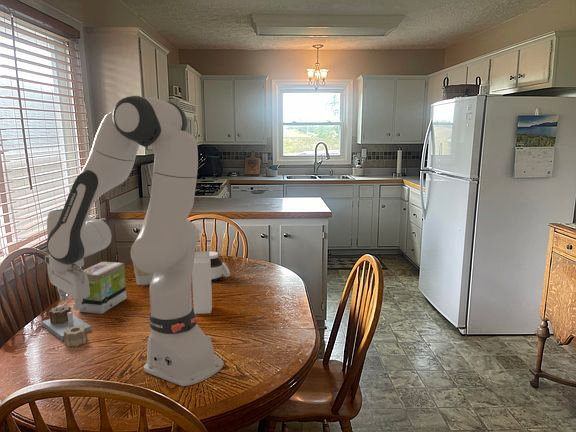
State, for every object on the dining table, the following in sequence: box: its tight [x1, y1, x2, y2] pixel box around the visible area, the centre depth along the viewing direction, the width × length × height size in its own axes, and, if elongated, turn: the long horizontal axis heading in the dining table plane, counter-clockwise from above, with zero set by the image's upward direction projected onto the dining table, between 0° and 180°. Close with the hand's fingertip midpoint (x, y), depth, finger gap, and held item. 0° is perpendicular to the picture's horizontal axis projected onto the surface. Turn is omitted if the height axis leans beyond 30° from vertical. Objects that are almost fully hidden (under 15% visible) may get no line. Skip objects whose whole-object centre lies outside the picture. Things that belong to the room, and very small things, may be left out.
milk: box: [191, 250, 213, 315], centre depth 149 cm, size 6×6×22 cm
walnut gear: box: [48, 304, 72, 324], centre depth 139 cm, size 6×6×4 cm
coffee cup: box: [132, 262, 154, 286], centre depth 178 cm, size 9×9×15 cm
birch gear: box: [63, 325, 89, 348], centre depth 128 cm, size 6×6×4 cm
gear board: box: [41, 304, 92, 341], centre depth 137 cm, size 16×9×6 cm, turn 50°
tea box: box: [78, 261, 127, 315], centre depth 154 cm, size 15×10×15 cm, turn 168°
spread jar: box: [209, 251, 231, 283], centre depth 183 cm, size 12×11×12 cm
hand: (70, 304), depth 126 cm, fingers open, 8 cm apart
